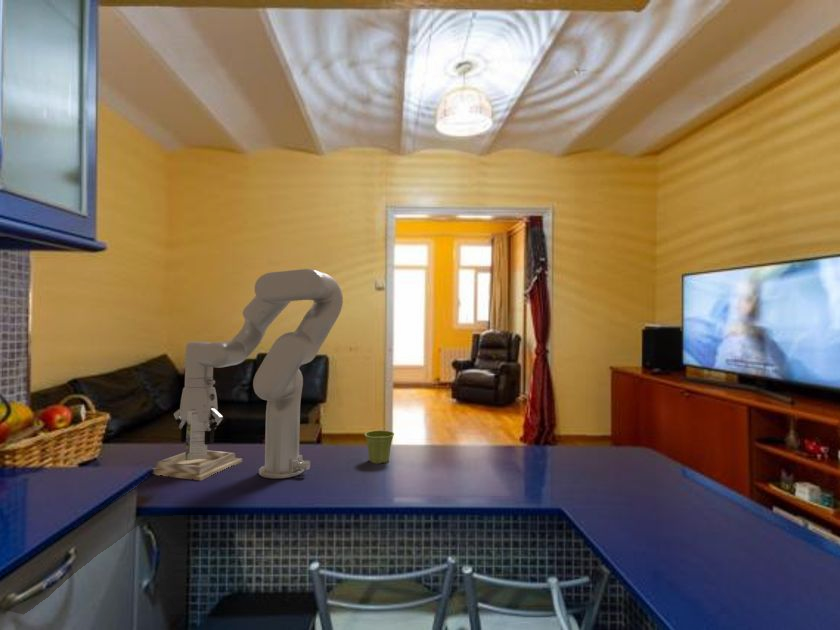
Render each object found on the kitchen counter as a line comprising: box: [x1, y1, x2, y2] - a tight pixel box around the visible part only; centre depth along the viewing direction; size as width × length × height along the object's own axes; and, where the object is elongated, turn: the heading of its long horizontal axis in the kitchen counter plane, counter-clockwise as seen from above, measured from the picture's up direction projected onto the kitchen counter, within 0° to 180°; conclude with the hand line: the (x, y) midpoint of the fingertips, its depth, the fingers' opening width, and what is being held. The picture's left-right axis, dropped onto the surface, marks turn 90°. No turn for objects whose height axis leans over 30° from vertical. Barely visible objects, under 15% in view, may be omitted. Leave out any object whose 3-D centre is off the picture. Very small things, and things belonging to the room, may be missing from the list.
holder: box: [152, 449, 243, 481], centre depth 138 cm, size 18×18×3 cm
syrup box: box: [185, 410, 208, 460], centre depth 138 cm, size 6×6×14 cm
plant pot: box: [364, 429, 395, 464], centre depth 147 cm, size 9×9×9 cm
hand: (197, 442), depth 138 cm, fingers closed on syrup box, 7 cm apart
